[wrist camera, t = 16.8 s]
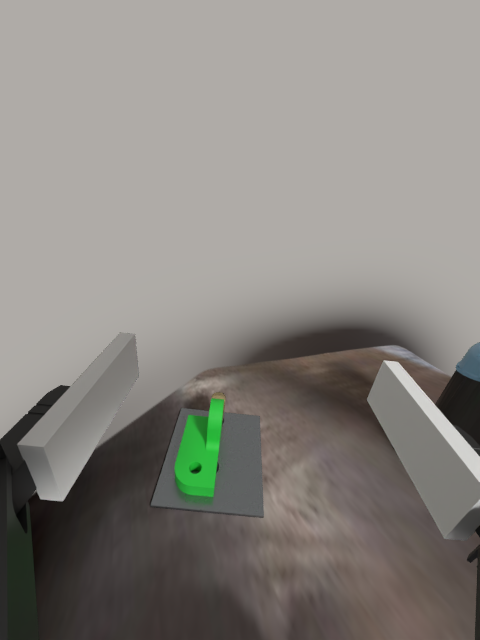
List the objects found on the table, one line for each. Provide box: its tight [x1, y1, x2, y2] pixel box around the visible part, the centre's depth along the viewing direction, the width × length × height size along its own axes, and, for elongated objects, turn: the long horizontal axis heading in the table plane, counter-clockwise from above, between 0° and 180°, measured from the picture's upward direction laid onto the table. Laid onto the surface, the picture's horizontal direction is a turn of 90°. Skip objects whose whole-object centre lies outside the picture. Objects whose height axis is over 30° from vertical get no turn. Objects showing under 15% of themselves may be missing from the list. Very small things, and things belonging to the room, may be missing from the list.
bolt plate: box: [151, 392, 264, 518], centre depth 40 cm, size 15×17×6 cm
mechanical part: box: [175, 398, 224, 497], centre depth 39 cm, size 12×6×8 cm, turn 178°
